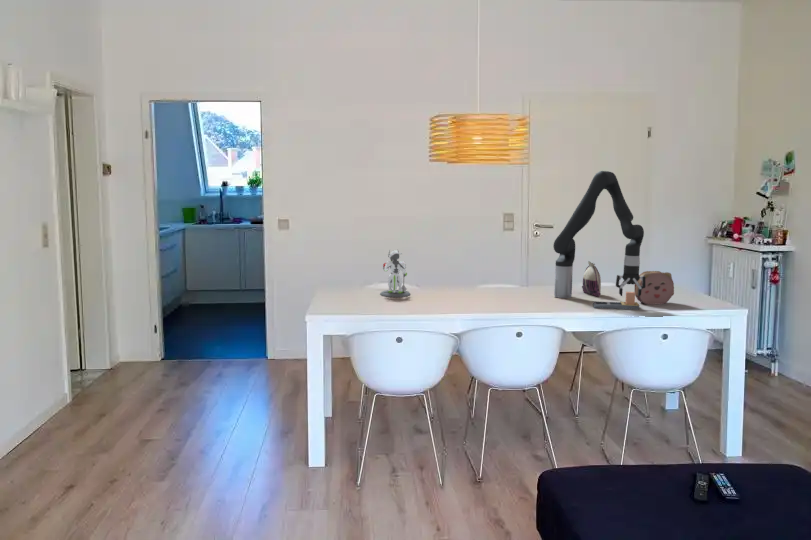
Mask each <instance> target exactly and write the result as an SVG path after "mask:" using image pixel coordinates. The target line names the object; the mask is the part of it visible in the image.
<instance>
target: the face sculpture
mask: <svg viewBox="0 0 811 540" xmlns="http://www.w3.org/2000/svg"><path fill="white" fill-rule="evenodd" d="M639 276H645V288H643V289H642V290H641V295H640V297H639V296H638V289H639V288H638V286H637V285H636V284H634V292H635V299H637V301H638V302H640V303H642V304H645V305H661V304H662V305H664V304H666V303H668V302H669V301H670V299H671V298H672V297H673V296H674V294H675V287H674V286H675V283H674V280H673V277H672V273H671V272H667V271H666V272H664V271H663V272H662V271H659V270H646V271H643V272H641V273H639ZM637 282H638V283H639V285H640V286H642V280H641V279H639V280H638V281H637Z"/></svg>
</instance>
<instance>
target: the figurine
mask: <svg viewBox="0 0 811 540" xmlns="http://www.w3.org/2000/svg"><path fill="white" fill-rule="evenodd" d="M400 255H403V253H400V252H399V249H397V250H392V251H391V249H389V251H388V254H387V256H388V258H389V260H390V261H389V260H386V262H384V263H383V265H382V269H383V271H384V272H388V270H389V269H390V274H389V275H388V276H387V286H388V289H387V290H382V291H381V292H380V294H379V295H380V296H382V297H385V298H386V297H387V298H403V297H404V298H406V297H409V296H411V293H410V291H408V290H407V289H408V288H407V287H406V286H405V277H407V275H408V272H407V271H406V268H407V267H406V266H407V264H405V263H406V261H399V259H400ZM400 271H402V275H403V276H401V274H400ZM402 277H403V278H402ZM402 279H403V280H402Z"/></svg>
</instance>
